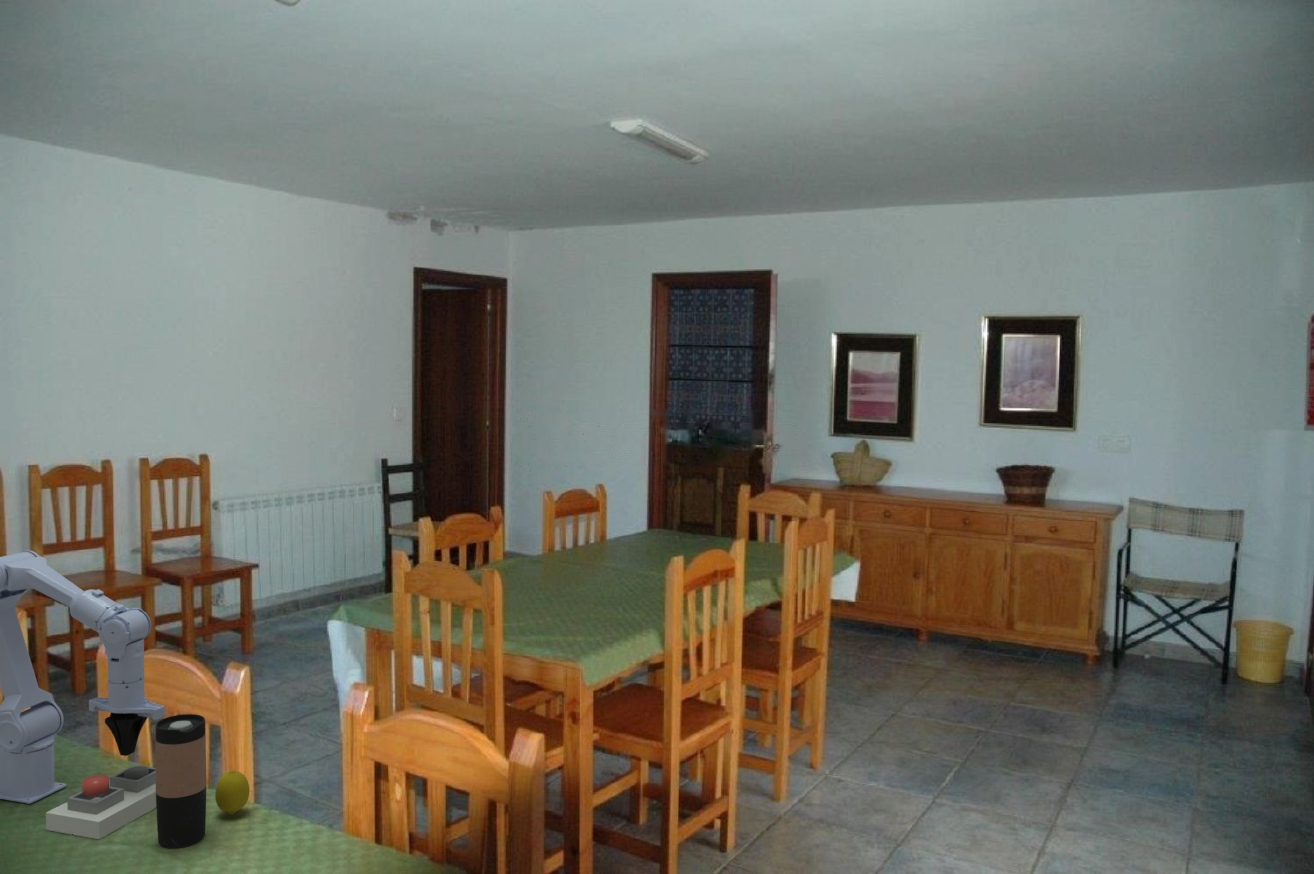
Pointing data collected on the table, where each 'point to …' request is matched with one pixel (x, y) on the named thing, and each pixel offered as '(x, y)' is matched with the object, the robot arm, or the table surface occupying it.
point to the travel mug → (181, 780)
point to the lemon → (232, 792)
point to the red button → (95, 785)
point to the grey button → (136, 772)
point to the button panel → (105, 807)
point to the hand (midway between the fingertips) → (127, 753)
